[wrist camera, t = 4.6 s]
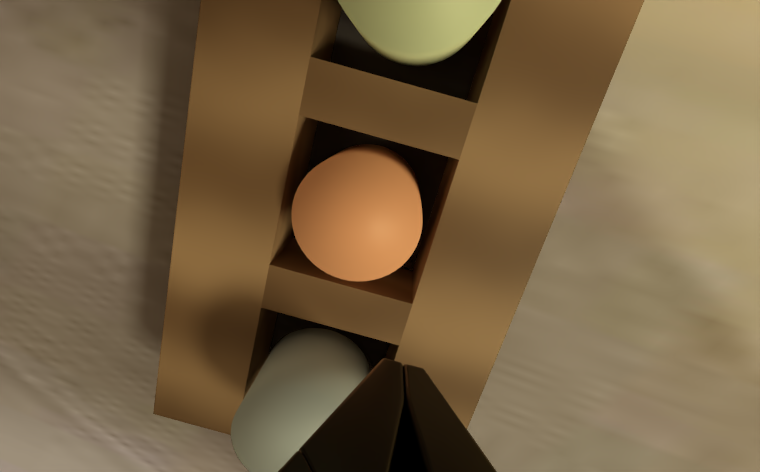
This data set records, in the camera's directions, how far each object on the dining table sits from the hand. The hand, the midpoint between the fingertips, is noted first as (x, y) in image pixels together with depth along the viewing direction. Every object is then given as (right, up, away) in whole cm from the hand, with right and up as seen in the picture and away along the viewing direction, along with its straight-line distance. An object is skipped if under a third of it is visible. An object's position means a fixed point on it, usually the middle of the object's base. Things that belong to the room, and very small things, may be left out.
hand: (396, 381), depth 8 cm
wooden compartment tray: (-1, +5, +11) cm, 12 cm away
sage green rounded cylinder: (-3, -3, +11) cm, 12 cm away
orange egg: (-1, +5, +11) cm, 12 cm away
